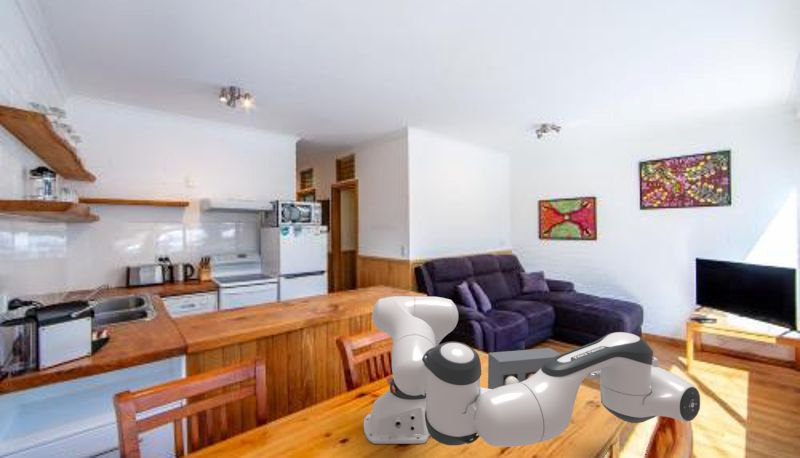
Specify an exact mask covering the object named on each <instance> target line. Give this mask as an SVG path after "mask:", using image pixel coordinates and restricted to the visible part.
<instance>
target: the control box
mask: <svg viewBox="0 0 800 458" xmlns="http://www.w3.org/2000/svg"><path fill="white" fill-rule="evenodd" d="M487 354H488V355H487V357H488V359H487V360H488V361H487V365H488V366H487V367H488V369H487V389H495V388H498V387H501V386H504V385H505V384H504V381H505V379H506V377H508V376H514V377H515V378H516V379H517V380H518V381H519V382H522V381H524V380H526V379H527V377H528V375H529V374H532V373H534V374H535V373H537V372H538V371H539V370H540V369H541V367H542V366H543V364H544V363H545V362H546V361H547V360H549V359H551V358H553V357H555V356H558V355H560V354H561V353H560V352H558V351H556V350H554V349H552V348H551V347H544V348H534V349H533V348H531V349H521V350H519V349H518V350H507V351H495V352H488V353H487Z"/></svg>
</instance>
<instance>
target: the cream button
mask: <svg viewBox="0 0 800 458" xmlns="http://www.w3.org/2000/svg"><path fill="white" fill-rule="evenodd" d="M518 382H519V381H518V380H517V379H516V378H515V377H514V376H508V377H506V379H505V381H504V384H505V385H508V384H513V383H518Z"/></svg>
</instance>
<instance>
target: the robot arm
mask: <svg viewBox="0 0 800 458" xmlns="http://www.w3.org/2000/svg"><path fill="white" fill-rule="evenodd" d="M371 313H372V314H371V318H372V322H373V325H374V326H375V328H376V329H377V330H378V331H380V332H382V333H385V334H386V335H387V336H389V337H390V338H391V340H392V349H391V350H392V351H391V371H392V375H388V376H387V377H386V378H385V379H386V382H387V384H388V385H389V390H387V391H386V392H385V393H384V394H382V395H381V396H380V397H378V398H377V399H376V400H375V401H374V402H373V405H372V407H371V412H370V413H368V414H367V415H366V416H365V417H364V419H363V426H362V427H363V432H364V435H365V438H366V439H367V440H368V441H369V442H370V443H371V444H373V445H374V444H381V445H386V444H393V445H394V444H396V445H397V444H399V445H400V444H402V445H403V444H407V445H409V444H426V443H427V442H428V440H429V438H430V437H431V438H432V439H434V440H435V441H436V442H438V443H439V444H443V445H446V446H453V447H454V446H455V447H456V446H462V445H465V444H469V445H470V444H472V443H474V442H476V441H477V440H478V439H479V438H480V439H481V440H482V441H483V442H484V443H486V444H488V445H489V446H492V447H496V448H497V447H498V448H499V447H500V448H501V447H502V448H506V447H507V448H510V447H511V448H513V447H514V448H515V447H522V446H523V447H525V446H530V445H535V444H541V443H544V442H548V441H552V440H554V439H556V438H557V437H559V436H560V435H562V434H563V433H564V432H566V430H567V429H568V427H569V425H570V423H571V421H572V417H573V413H574V408H575V407H574V406H575V403H576V399H577V397H578V396H577V395H578V392H579V391H580V390H579V389H580V386H582V385H581V384H582V383H583V381H584V379H585V378H588V379H593V380H599V383H600V385H599V386H600V389H599V390H600V403H601V404H602V406H603V407H604V408H605V410H607V411H608V412H609V413H610V414H611V415H613V416H614V417H616V418H618V419H619V420H622V421H624V422H627V423H631V424H641V423H645V422H647V421H649V420H651V419H652V420H653V419H654V418H656V417H666V418H671V419H674V420H678V421H681V422H691V421H693V420H695V418H696V417H697V416H698V414H699V411H700V409H701V395H700V392H699V389H698V388H697V387H696V386H695V385H694V384H692V383H691V382H689V381H687V380H686V379H684V378H682V377H681V376H679V375H677V374H675V373H674V372H671V371H669V370H667V369H664V368H661V367H659V360H658V359H659V358H657V357H654V351H653V348H652V347H651V346H650V345H649V343H648V342H646V341H645V340H644V339H643V338H642V337H641V336H640V335H638V334H635V333H631V332H626V331H625V332H623V331H615V332H614V331H613V332H610V333H607V334H605V335H604V336H602V337H601V338H599V339H597V340H595V341H593V342H591V343H587V344H585V345H583V346H580V347H577V348H573V349H572V350H568V351H565V352H563V353H560V355H558V356H555V357H553V358H551V359H549V360H547V361H546V362H545V363H544V364H543V366H542V367H541V369H540V370H539V371H538V372H537V373H535V374H534V375H533V376H531V377H530V378H528V379H526V380H524V381H522V382H518V383H513V384H508V385H504V386H501V387H498V388H495V389H488V387H484V386H481V376H482V363H481V359H480V355H479V353H478V352H477V351H476V350H475V349H474V348H473V347H471V346H470V345H467V344H466V343H464V342H459V341H446V342H442V340H443V339H444V338H445V337H446V336H448V334H450V333H451V332H452V331H454V330H455V328H456V327H457V324H458V322H459V310H458V307H457V305H456V303H454V301H453V300H452V299H449V298H445V297H440V296H423V295H422V296H421V295H420V296H417V295H416V296H414V295H413V296H411V295H409V296H408V295H406V296H405V295H401V296H400V295H394V296H393V295H392V296H387V297H382V298H378V300H377V301H376V302H375V304H374V306H373V307H372V312H371ZM441 342H442V343H441Z"/></svg>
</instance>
